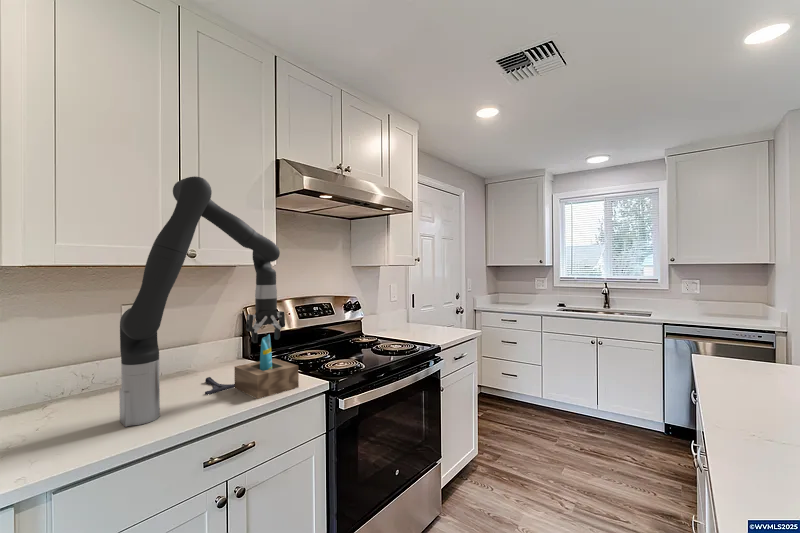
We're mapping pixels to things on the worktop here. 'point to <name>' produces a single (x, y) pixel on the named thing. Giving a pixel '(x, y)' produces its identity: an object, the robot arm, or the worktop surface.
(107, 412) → the worktop surface
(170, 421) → the worktop surface
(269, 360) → the tube
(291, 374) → the socket block
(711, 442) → the worktop surface
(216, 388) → the bracket
